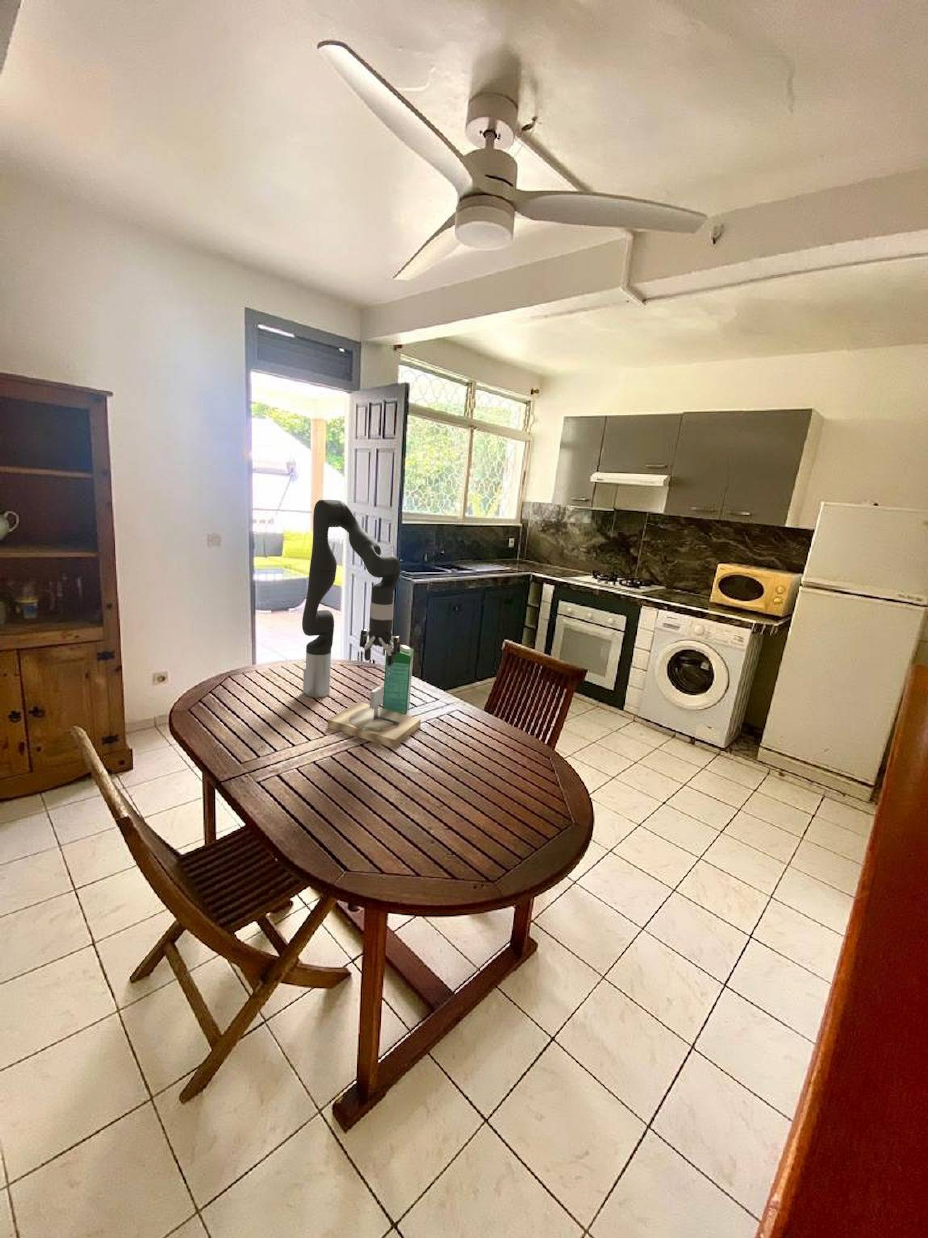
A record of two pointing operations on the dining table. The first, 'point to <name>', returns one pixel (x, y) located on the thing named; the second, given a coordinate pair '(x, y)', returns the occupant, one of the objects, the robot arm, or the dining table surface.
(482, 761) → the dining table surface
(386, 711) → the dial board
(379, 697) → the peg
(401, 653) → the milk carton
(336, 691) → the dining table surface
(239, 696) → the dining table surface
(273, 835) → the dining table surface
